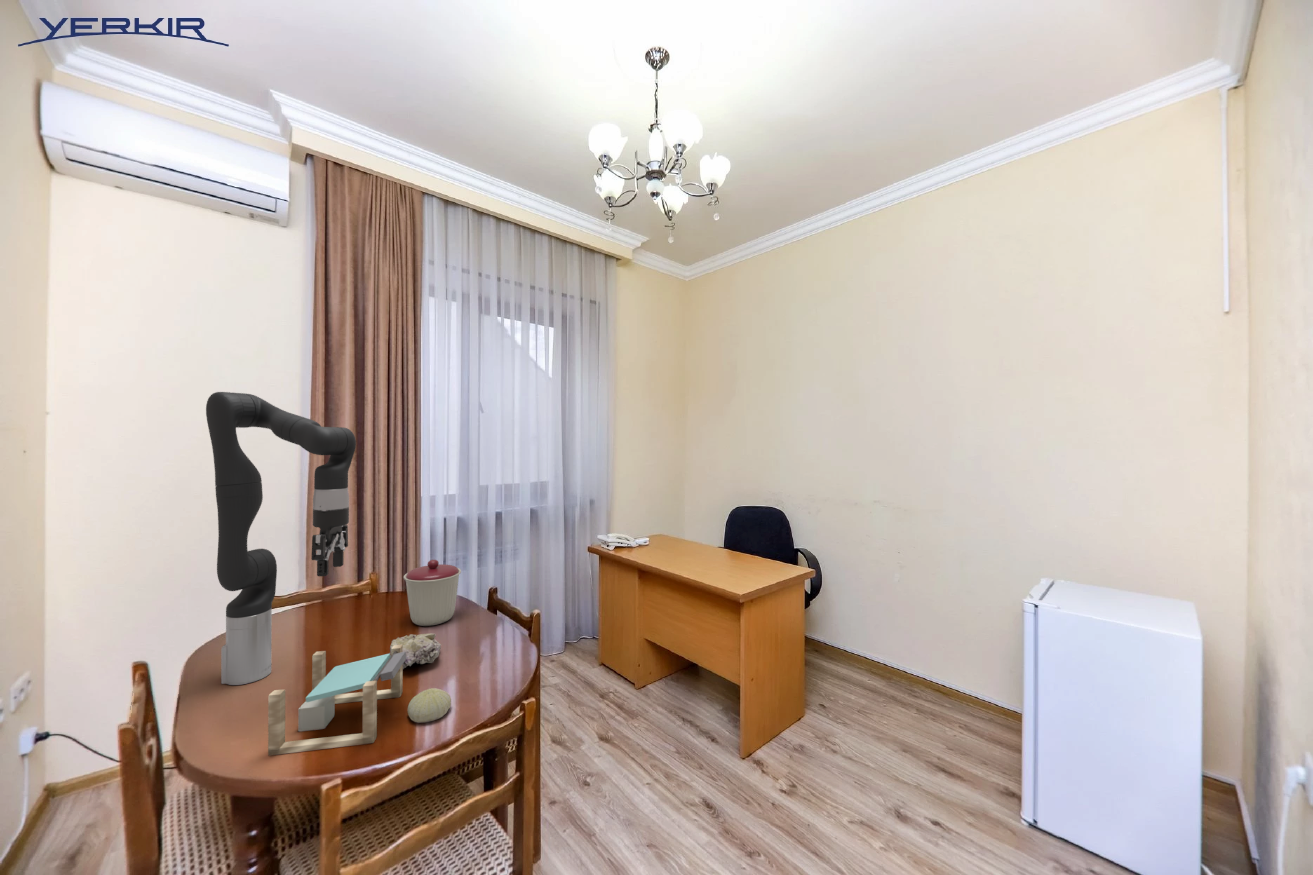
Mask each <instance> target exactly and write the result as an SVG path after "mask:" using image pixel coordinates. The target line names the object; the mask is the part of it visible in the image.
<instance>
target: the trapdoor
mask: <svg viewBox="0 0 1313 875" xmlns="http://www.w3.org/2000/svg"><path fill="white" fill-rule="evenodd" d="M390 657H391V653H390V652H389V653H386V654H382V655H377V656H373V657H369V658H365V659H361V660H356V661H352V662H347V663H344V664H340V665H336V666H334V667H333V668H332V669H331V670H330V671H329V672H328V673H327V674H326V677H325V678H324V679H323V680H322V681H321V682H320V683H319V684H318V685H317V686H316V687H315V688H314V689H313V690H312V689H311V692H309V693H308V694H307V696H306V697H305V701H306V703H307V702H311V701H315V700H319V699H322V698H326V697H330V696H334V695H338V694H347V693H351V692H354V691H357V690H363V685H364V684H365V683H366V682H367V681H373V680H374V679H375V677H376V676H377V675H378V673H379V672H380V670H381V669H382V668H383V666H384V665H385V664H386V662H387V661H388V660H389V658H390ZM406 658H407V657H406V651H405V652H401V653H397V654H394V656H393V657H392V658H391V660H390V661H389V663H388V664H387V665H386V667H385V668H384V669H383V671H382V672H381V674H380V681H381V682H383V681H387V680H391V679H393V678H394V676H395V675H396V673H397V672H398V670H399V669H400V667H401V666H402V664H403V663H404V661H405V660H406Z"/></svg>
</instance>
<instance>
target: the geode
mask: <svg viewBox="0 0 1313 875" xmlns="http://www.w3.org/2000/svg"><path fill="white" fill-rule="evenodd" d="M436 635H437V634H436V633H421V634H409V635H407V634H406V635H405V636H401V637H399V636H397V638H396V639H392V640H391V644H390V647H389V653H390V654H391V648H392V647H393V646H394V645H403V652H405V651H406V657H407V658H406V660H405V661H404V663H403V670H404V669H405V668H407V667H408V666H409V667H411V666H412V665H413V664H415V663H416V664H417V665H418V664H420V665H424V664H433V663H434V662H435V661H436V659H437V658H438V657H440V653H441V652H440V651H441V649H442V647H441V646H442V644H441V643H440V642H439V641H438V640H437V639H435V638H436Z"/></svg>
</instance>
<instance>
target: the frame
mask: <svg viewBox="0 0 1313 875" xmlns="http://www.w3.org/2000/svg"><path fill="white" fill-rule="evenodd" d="M401 652H403V645H394V646H393V647H392V648H391V653H390V656H391V657H390V658H389V660H388V661H387V662H386V664H385V665H384V666H383V668H382V669H381V670H380V672H379V673H378V675H377V676H376V677H375V679H374V680H373V681H367V682H366V683H365V684H364V685H363V688H362V691H359V692H357V691H356V692H346V693H342V694H338V695H335V704H345V703H346V704H347V703H357V702H362V732H361V733H351V734H343V735H336V736H328V737H327V736H326V737H318V738H309V739H298V740H293V741H292V740H290V741H286V689H275V690H272V692H270V693H269V695H268V701H267V702H268V704H267V705H268V707H267V711H268V714H267V717H268V723H267V724H268V726H267V727H268V728H267V730H268V731H267V732H268V734H267V736H268V737H267V739H268V740H267V748H268V749H267V755H268V757H269V756H276V755H285V754H293V753H300V752H301V753H302V752H309V751H316V750H317V751H318V750H326V749H333V748H335V749H337V748H342V747H350V746H359V745H367V744H373V743H374V742H375V740H376V739H377V736H378V734H377V732H378V731H377V730H378V729H377V727H378V726H377V725H378V724H377V723H378V720H377V719H378V716H377V715H378V713H377V712H378V711H377V710H378V706H377V705H378V700H384V699H396V698H401V696H402V694H403V672H404V671H403V670H404V669H403V664H402V666H401V667H400V669H399V670H398V672H397V673H396V675H395V676H394V678H393V679H390V689H389V688H388V689H381V690H379V689H378V685H377V684H378V681H379V680H380V679H381V677H380V674H381V672H382V671H383V669H384V668H385V667H386V665H387V664H388V663H389V661H390V660H391V658H392V657H393V656H394V654H397V653H401ZM311 658H312V660H311V661H312V664H311V665H312V668H311V669H312V670H311V672H312V674H311V677H312V678H311V684H312V685H311V688H312V689H311V691H312V690H313V689H314V688H315V687H316V686H317V685H318V684H319V683H320V682H321V681H322V680H323V679H324V678H325V677H326V676H327V670H326V669H327V665H326V664H327V651H326V650H321V651H315V652H314V653H313V654H312V657H311Z"/></svg>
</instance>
